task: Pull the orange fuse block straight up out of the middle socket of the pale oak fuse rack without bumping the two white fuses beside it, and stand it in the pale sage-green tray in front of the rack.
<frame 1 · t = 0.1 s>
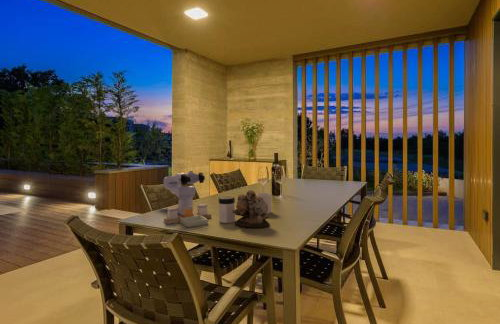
hand: (196, 178, 158), 22 cm above the table, tool horizontal, fingers open, 7 cm apart
fuse rack: (188, 219, 161), on the table
white fuse 1: (172, 222, 157), resting in fuse rack
tray: (194, 223, 153), on the table
white fuse 2: (202, 217, 165), resting in fuse rack
mug: (260, 212, 175), on the table
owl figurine: (251, 225, 147), on the table
orange fuse: (187, 213, 161), in the fuse rack
jar: (227, 221, 157), on the table
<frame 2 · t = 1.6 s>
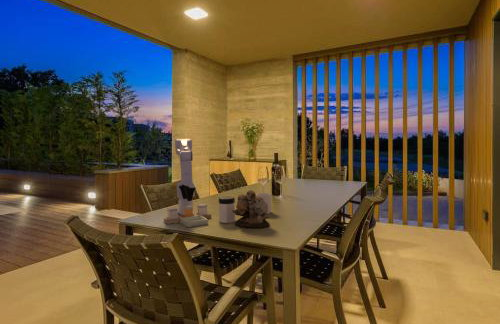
hand: (187, 200, 160), 10 cm above the table, tool pointing down, fingers open, 7 cm apart
nothing on the table moved.
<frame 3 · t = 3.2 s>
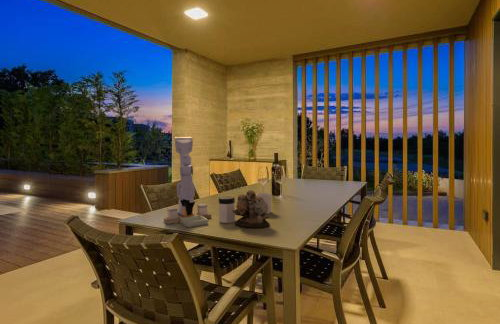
hand: (187, 214, 161), 3 cm above the table, tool pointing down, fingers closed on orange fuse, 4 cm apart
orange fuse: (187, 213, 161), in the fuse rack, touching gripper
everything else where it was.
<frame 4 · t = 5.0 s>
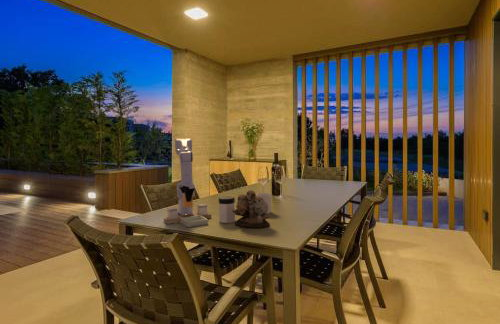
hand: (187, 200, 160), 10 cm above the table, tool pointing down, fingers closed on orange fuse, 4 cm apart
orange fuse: (187, 199, 160), point 10 cm above the table, touching gripper
everything else where it was.
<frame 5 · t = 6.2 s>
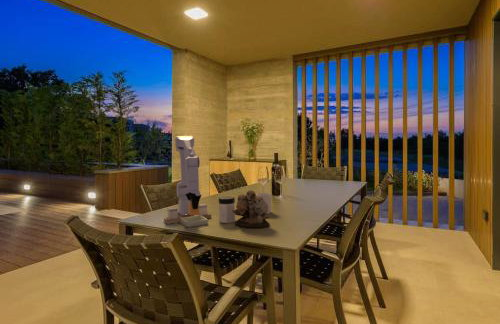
hand: (193, 208, 152), 8 cm above the table, tool pointing down, fingers closed on orange fuse, 4 cm apart
orange fuse: (193, 207, 152), point 8 cm above the table, touching gripper
everything else where it was.
when the fingers open (5 cm above the table, at t = 7.1 s): orange fuse drops 1 cm, resting on tray.
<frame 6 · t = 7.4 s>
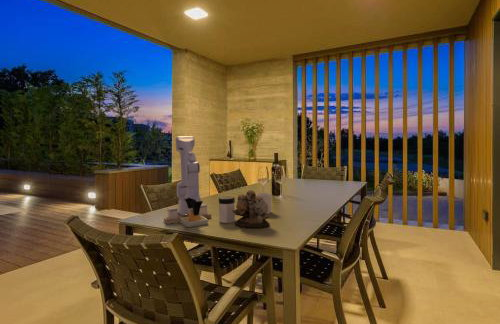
hand: (193, 213, 152), 5 cm above the table, tool pointing down, fingers open, 7 cm apart
orange fuse: (193, 215, 153), in the tray
everything else where it was.
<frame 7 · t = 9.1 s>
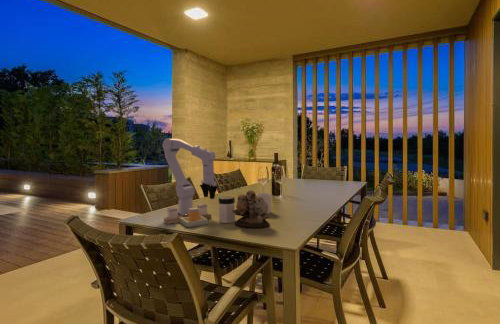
hand: (209, 197, 168), 10 cm above the table, tool pointing down, fingers open, 7 cm apart
nothing on the table moved.
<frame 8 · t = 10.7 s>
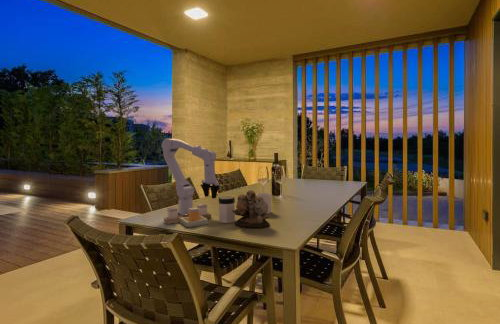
hand: (210, 197, 170), 10 cm above the table, tool pointing down, fingers open, 7 cm apart
nothing on the table moved.
at the end: orange fuse 0.1 cm off-centre on the tray, point 4.0 cm above the tray's base; white fuse 2 moved 0.1 cm from its start; white fuse 1 moved 0.1 cm from its start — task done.
